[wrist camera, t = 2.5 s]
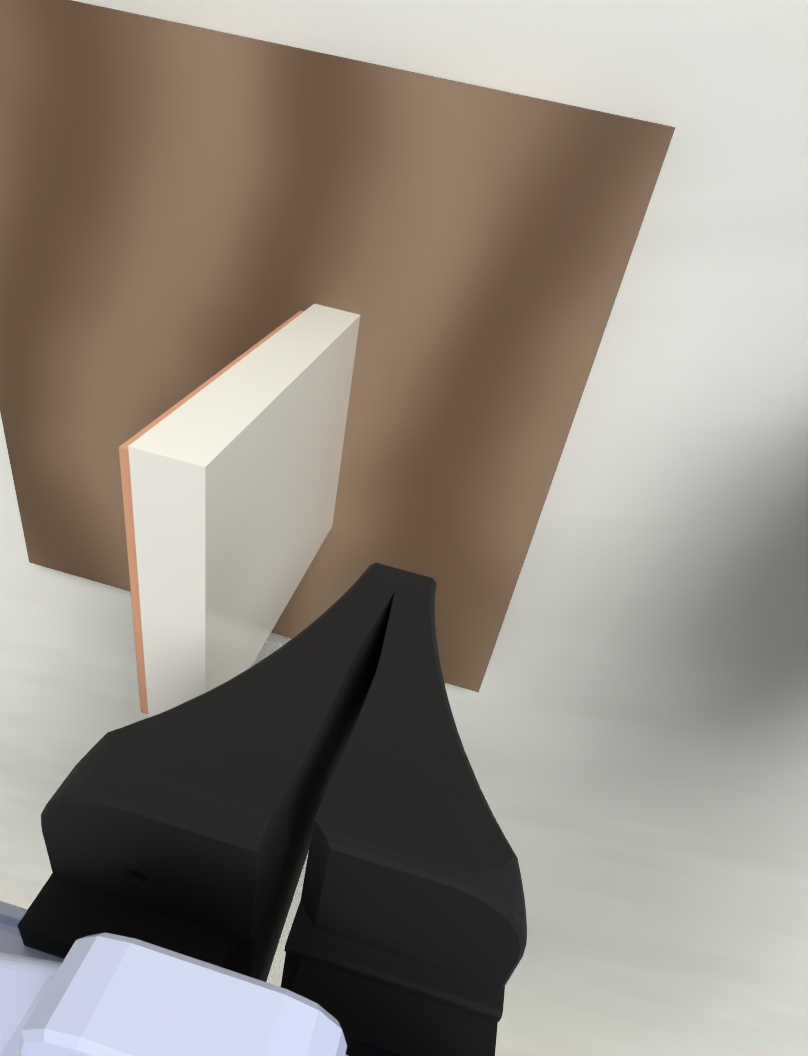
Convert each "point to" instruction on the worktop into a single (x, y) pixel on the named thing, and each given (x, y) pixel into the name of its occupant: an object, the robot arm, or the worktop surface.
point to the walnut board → (303, 285)
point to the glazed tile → (234, 504)
